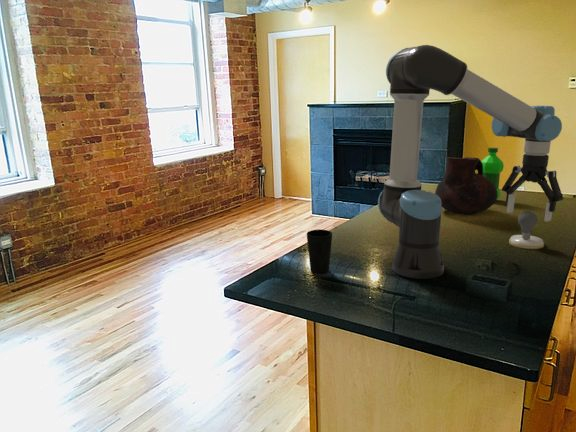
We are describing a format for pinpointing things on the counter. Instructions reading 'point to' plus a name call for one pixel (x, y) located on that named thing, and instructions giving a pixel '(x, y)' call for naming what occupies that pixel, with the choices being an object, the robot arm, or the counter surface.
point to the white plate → (526, 242)
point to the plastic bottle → (493, 168)
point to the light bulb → (527, 223)
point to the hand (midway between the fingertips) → (528, 216)
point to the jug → (465, 187)
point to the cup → (319, 250)
